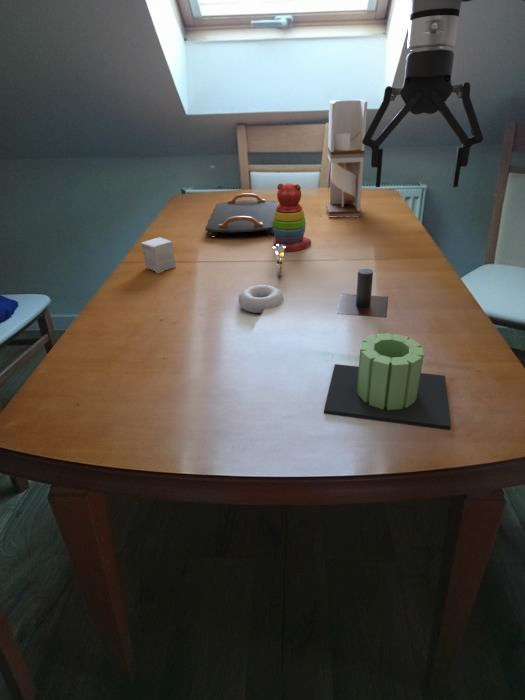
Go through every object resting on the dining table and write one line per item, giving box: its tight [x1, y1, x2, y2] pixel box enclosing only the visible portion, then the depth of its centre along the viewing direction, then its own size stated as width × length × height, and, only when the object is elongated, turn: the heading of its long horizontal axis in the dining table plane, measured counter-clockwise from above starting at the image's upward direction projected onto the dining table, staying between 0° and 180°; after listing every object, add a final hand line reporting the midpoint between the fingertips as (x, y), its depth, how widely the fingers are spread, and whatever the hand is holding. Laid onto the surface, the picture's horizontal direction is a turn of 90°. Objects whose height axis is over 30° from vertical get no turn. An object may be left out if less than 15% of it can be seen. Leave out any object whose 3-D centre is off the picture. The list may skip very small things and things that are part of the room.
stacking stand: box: [336, 268, 389, 319], centre depth 96 cm, size 10×10×9 cm
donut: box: [238, 284, 284, 314], centre depth 102 cm, size 10×4×10 cm
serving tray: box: [205, 192, 279, 237], centre depth 159 cm, size 39×23×6 cm, turn 178°
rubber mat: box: [323, 363, 452, 430], centre depth 73 cm, size 18×13×1 cm
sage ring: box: [357, 332, 424, 410], centre depth 71 cm, size 9×9×8 cm
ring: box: [272, 243, 285, 276], centre depth 116 cm, size 7×3×8 cm, turn 175°
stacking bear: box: [273, 183, 312, 253], centre depth 132 cm, size 11×10×18 cm
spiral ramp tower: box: [325, 99, 368, 217], centre depth 156 cm, size 11×11×35 cm
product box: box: [140, 236, 177, 274], centre depth 124 cm, size 6×6×7 cm
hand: (415, 186), depth 86 cm, fingers open, 13 cm apart
